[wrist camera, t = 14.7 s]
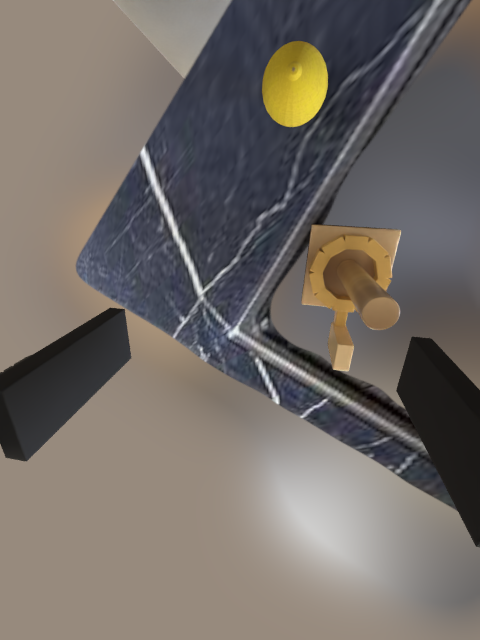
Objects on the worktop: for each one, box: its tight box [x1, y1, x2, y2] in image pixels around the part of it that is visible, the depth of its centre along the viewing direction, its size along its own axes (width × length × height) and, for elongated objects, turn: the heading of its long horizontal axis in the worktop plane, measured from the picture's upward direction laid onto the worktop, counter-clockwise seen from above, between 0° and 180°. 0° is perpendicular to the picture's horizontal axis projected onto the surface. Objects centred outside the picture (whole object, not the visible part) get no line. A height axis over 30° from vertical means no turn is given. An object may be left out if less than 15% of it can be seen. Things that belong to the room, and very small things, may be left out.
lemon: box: [262, 41, 328, 127], centre depth 25 cm, size 6×6×8 cm
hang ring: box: [309, 234, 392, 371], centre depth 31 cm, size 13×8×6 cm, turn 178°
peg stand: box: [302, 224, 401, 330], centre depth 27 cm, size 9×9×16 cm
